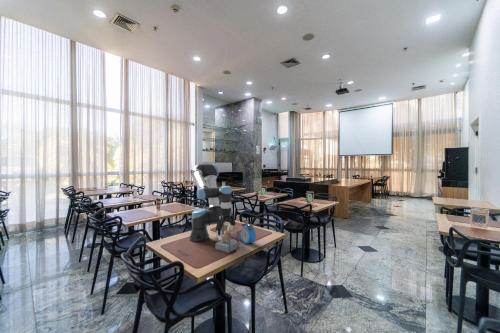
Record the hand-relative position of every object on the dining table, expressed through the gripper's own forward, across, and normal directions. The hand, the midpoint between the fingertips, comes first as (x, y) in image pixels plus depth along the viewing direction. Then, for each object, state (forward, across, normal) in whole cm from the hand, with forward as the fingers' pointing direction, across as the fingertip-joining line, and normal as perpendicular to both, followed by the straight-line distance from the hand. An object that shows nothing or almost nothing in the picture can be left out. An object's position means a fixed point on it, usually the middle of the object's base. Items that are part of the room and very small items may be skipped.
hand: (226, 236), depth 155 cm
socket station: (+8, 0, -3) cm, 9 cm away
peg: (+8, 0, 0) cm, 8 cm away
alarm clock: (+8, +16, -8) cm, 20 cm away
